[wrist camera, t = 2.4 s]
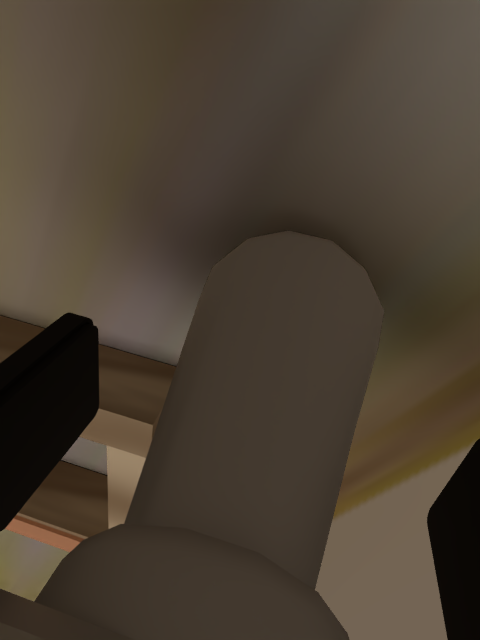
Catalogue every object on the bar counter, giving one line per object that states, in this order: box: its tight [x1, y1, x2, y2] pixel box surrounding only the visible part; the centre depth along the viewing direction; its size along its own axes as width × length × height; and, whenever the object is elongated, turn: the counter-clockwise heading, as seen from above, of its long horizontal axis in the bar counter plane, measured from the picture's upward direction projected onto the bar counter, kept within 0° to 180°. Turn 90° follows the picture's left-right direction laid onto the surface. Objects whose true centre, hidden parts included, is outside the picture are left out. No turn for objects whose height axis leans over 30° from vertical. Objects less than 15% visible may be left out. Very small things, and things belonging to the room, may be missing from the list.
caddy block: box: [0, 316, 176, 552], centre depth 20 cm, size 12×11×4 cm
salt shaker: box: [34, 230, 384, 640], centre depth 9 cm, size 6×6×13 cm
